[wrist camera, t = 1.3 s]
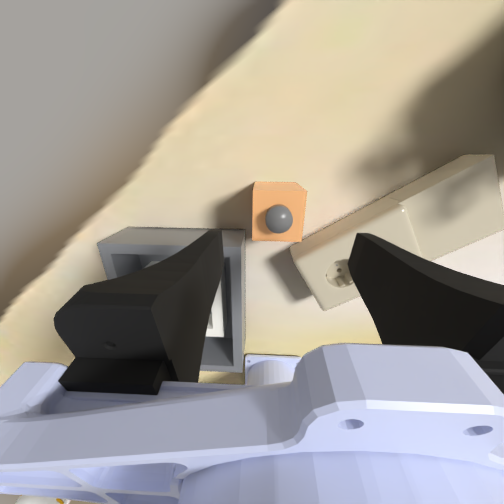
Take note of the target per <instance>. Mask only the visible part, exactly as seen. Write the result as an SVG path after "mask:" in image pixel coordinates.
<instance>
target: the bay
mask: <svg viewBox="0 0 504 504" xmlns="http://www.w3.org/2000/svg"><path fill="white" fill-rule="evenodd" d="M209 230H210V229H201V228H161V227H127V228H125V229H123V230H121V231H119V232H117V233H115V234H113V235H112V236H110V237H108V238H106V239H104V240H102V241H100V242H98V243H97V246H98V249H99V252H100V256H101V259H102V262H103V266H104V269H105V272H106V276H107V279H108V280H110V279H114V278H117V277H121V276H124V275H127V274H130V273H133V272H136V271H139V270H142V269H144V268H146V267H149V266H151V265H154V264H156V263H158V262H160V261H162V260H164V259H166V258H168V257H170V256H172V255H174V254H176V253H177V252H179V251H180V250H182V249H183V248H185V247H187V246H188V245H190V244H191V243H192V242H194V241H195V240H196V239H198V238H199V237H201V236H202V235H203V234H204V233H206V232H207V231H209ZM216 230H222V240H223V253H224V265H223V271H222V276H221V280H220V283H219V286H218V289H217V292H216V295H215V299H214V302H213V305H212V308H211V312H210V316H209V321H208V326H207V331H206V337H205V342H204V348H203V353H202V360H201V366H200V371H218V372H239V373H242V371H243V360H244V349H245V230H241V229H216Z"/></svg>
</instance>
